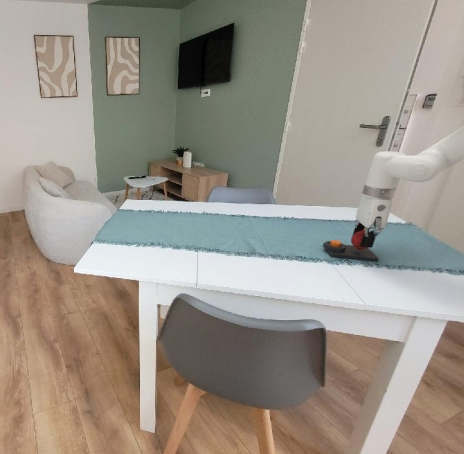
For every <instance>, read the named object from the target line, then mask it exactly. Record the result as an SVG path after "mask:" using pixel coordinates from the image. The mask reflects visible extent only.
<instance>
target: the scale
mask: <svg viewBox="0 0 464 454" xmlns="http://www.w3.org/2000/svg"><path fill="white" fill-rule="evenodd" d="M330 242H331V240H326V241H325V242H322V243H323V244H322V247H323V248H324V250H325V251H326V253H327V255H328V256H329V258H334V259H343V260H351V261H361V262H370V263H371V262H372V263H379V257H378V256H377V255H376V254H375V253H374V252H373V251H372V250H371V248H369V247H368V248H366V249H362V250H358V249H357V248H355V247H354V246H353V244H344V243H343V242H341V247H334V246H331V245H330Z"/></svg>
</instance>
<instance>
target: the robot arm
mask: <svg viewBox="0 0 464 454" xmlns="http://www.w3.org/2000/svg"><path fill="white" fill-rule="evenodd" d="M463 160H464V124H463V125H462V126H460V127H459V128H458V129H456V130H455V131H454V132H452V133H450V134H449V135H446V136H445V137H444V138H442V139H441V140H439V141H437V142H435V143H434V144H432V145H430V146H429V147H428V148H426V149H424V150H422V151H421V152H419V153H418V154H414V155H407V154H406V153H405V152H401V151H392V150H391V151H390V150H387V151H386V150H383V151H378V152H376V153H374V155H373V157H372V160H371V163H370V166H369V169H368V173H367V176H366V178H365V181H364V182H365V183H364V185H363V188H362V192H361V195H362V197H361V199H360V202H359V203H358V207H357V209H356V215H355V219H356V220H355V221H356V223H355V224H354V229H353V233H352V235H351V237H352V236H353V234H355V233H356V232H359V231H362V230H364V228H366V229H365V235H363V237H362V240H361V243H360V246H361V247H368V248H369V249H371V248H373V247H374V244H375V241H376V238H377V237H378V236H379V235H380V234H381V233H382V232H383V231H382V230H385V228H386V227H387V224H388V221H389V217H390V213H391V209H392V204H393V199H394V196H395V194H396V191H397V189H398V185H399V183H400V180H404V181H408V182H414V183H424V182H428V181H431V180H433V179H434V178H436V177H437V176H438V175H439V174H440V173H441V172H444V171H445V170H448V168H450V167H452V166H454V165H456V164H457V163H459V162H461V161H463Z"/></svg>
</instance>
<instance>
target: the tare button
mask: <svg viewBox="0 0 464 454" xmlns="http://www.w3.org/2000/svg"><path fill="white" fill-rule="evenodd" d="M330 241H331V242H330V245H331V246H334V247H341V243H342V241H341V240H336V239H332V240H330Z"/></svg>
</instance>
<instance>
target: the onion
mask: <svg viewBox="0 0 464 454" xmlns="http://www.w3.org/2000/svg"><path fill="white" fill-rule="evenodd" d="M365 229H366V228H364V230H362V231H359V232H356V233H355V234H353V233H352V235H353V236H352V235H351V238H350V243H351V245H353V246H354V247H355V248H357V249H358V250H362V249H366V248H369V247H361V246H360V243H361V240H362V237H363V235H365Z"/></svg>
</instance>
